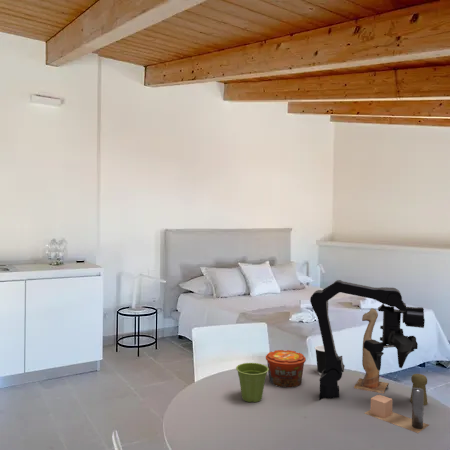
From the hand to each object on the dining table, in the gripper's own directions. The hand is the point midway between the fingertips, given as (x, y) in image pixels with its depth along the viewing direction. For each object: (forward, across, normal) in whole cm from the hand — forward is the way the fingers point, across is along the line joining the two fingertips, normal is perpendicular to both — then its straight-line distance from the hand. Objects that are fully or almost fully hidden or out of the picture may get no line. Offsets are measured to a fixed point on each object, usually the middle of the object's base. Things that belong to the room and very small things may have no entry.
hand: (389, 368), depth 155 cm
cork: (+13, +11, -3) cm, 18 cm away
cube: (+12, -8, -6) cm, 16 cm away
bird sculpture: (+14, +4, +15) cm, 21 cm away
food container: (+15, -24, +32) cm, 43 cm away
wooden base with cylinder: (+13, -6, -11) cm, 18 cm away
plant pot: (+15, -43, +21) cm, 50 cm away
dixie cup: (+14, -4, +35) cm, 38 cm away
